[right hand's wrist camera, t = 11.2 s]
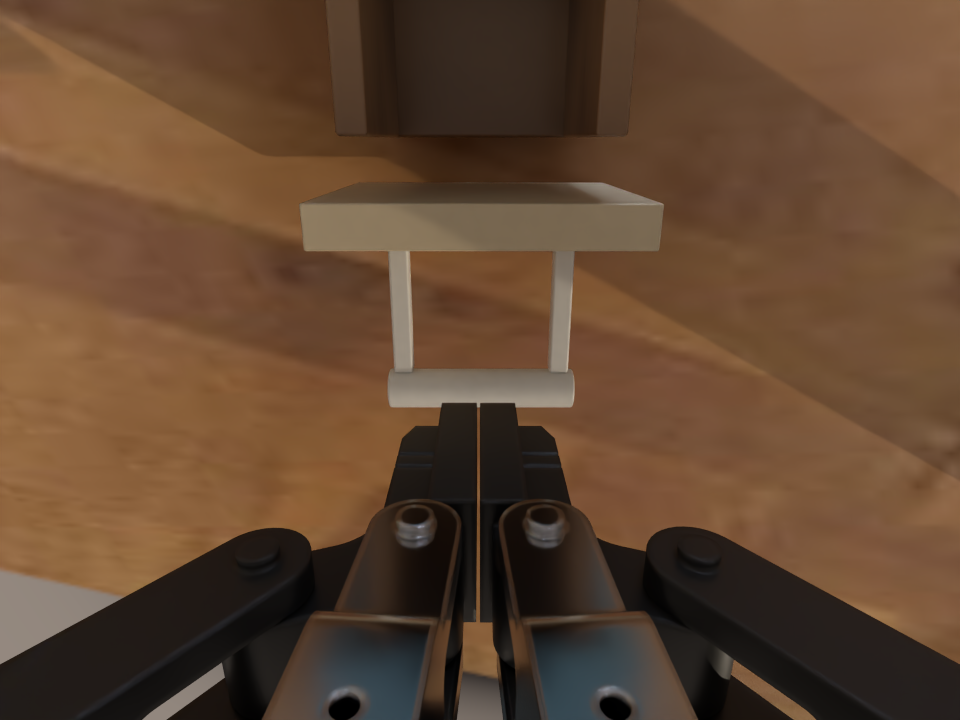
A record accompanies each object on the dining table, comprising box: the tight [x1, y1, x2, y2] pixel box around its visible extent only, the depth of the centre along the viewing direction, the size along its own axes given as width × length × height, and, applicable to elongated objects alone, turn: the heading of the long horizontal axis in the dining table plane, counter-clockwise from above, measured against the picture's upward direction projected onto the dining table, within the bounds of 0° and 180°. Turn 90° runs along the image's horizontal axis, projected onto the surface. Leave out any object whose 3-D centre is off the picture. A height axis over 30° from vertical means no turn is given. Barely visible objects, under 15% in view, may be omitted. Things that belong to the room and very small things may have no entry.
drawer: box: [299, 0, 664, 407], centre depth 17 cm, size 23×9×8 cm, turn 0°
